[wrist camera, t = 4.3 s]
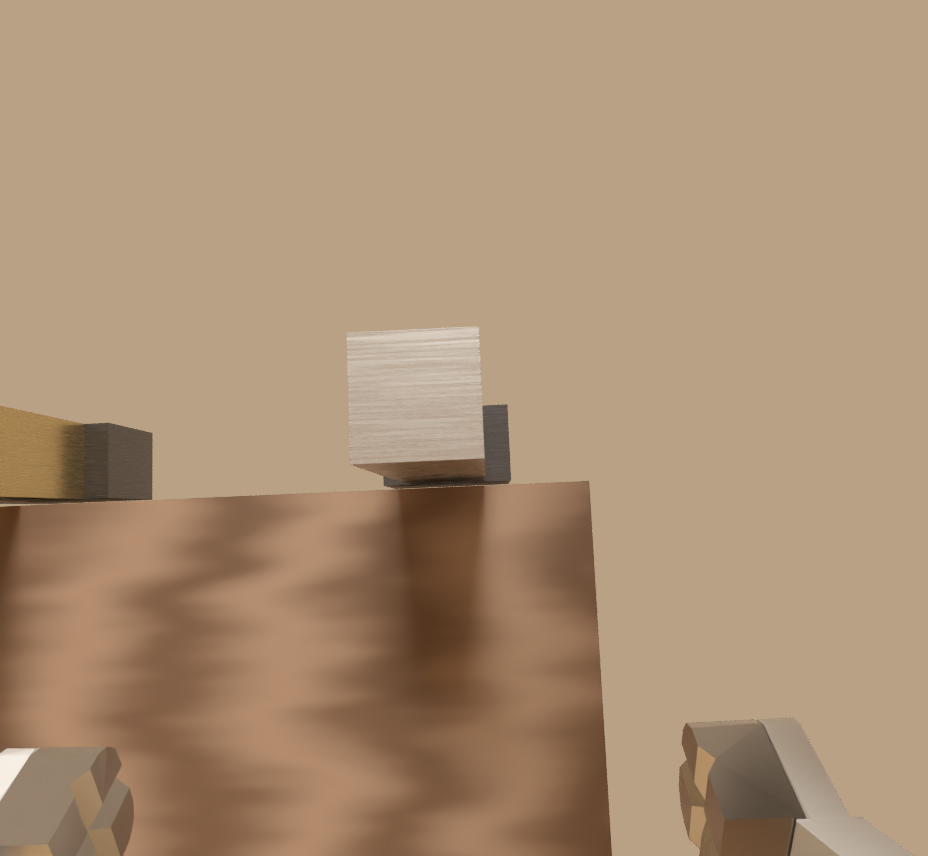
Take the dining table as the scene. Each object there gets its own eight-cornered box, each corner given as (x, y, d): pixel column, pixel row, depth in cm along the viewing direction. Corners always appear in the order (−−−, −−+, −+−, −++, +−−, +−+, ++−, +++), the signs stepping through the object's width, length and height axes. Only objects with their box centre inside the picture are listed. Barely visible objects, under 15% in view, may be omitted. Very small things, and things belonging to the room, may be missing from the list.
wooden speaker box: (583, 1034, 36) (553, 491, 39) (641, 1346, 23) (589, 480, 26) (49, 1048, 37) (58, 512, 40) (-204, 1360, 23) (-163, 513, 26)
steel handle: (507, 483, 34) (504, 416, 34) (529, 456, 17) (522, 324, 17) (396, 488, 34) (393, 422, 34) (305, 466, 17) (303, 334, 17)
